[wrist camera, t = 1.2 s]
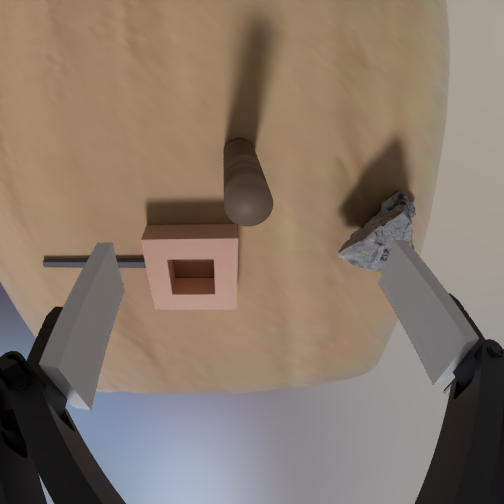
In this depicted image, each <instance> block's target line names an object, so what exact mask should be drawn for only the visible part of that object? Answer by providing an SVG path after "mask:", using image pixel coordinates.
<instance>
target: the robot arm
mask: <svg viewBox="0 0 504 504" xmlns="http://www.w3.org/2000/svg"><path fill="white" fill-rule="evenodd" d="M378 284H379V285H380V287H381V289H382V290H383V292H384V294H385V295H386V297H387V299H388V301H389V302H390V304H391V306H392V308H393V309H394V311H395V313H396V315H397V316H398V318H399V320H400V322H401V323H402V325H403V327H404V329H405V331H406V333H407V335H408V336H409V338H410V340H411V342H412V344H413V345H414V348H415V350H416V352H417V354H418V356H419V357H420V360H421V362H422V363H423V366H424V367H425V369H426V372H427V374H428V376H429V378H430V380H431V382H432V384H433V385H435V384H438V383H440V382H444V381H446V380H447V379H448V377H449V376H450V375H451V374H452V373H454V375H455V379H453V381H452V382H451V383H450V384H449V385H448V386H447V387H446V388H445V390H444V392H443V393H444V394H445V393H446V392H447V391H448V390H449V389H450V388H451V390H450V393H449V394H448V395H449V399H448V404H447V408H446V412H445V417H444V420H443V424H442V428H441V432H440V436H439V439H438V442H437V445H436V449H435V452H434V455H433V458H432V461H431V464H430V467H429V469H428V472H427V475H426V477H425V480H424V483H423V485H422V488H421V490H420V492H419V495H418V497H417V500H416V502H415V504H504V349H502V347H501V346H500V345H499V344H498V343H497V342H495V341H494V340H491V339H488V340H485V338H484V337H483V335H482V334H481V332H480V331H479V329H478V328H477V326H476V325H475V323H474V322H473V320H472V319H471V318H470V317H469V315H468V313H467V312H466V310H464V308H463V306H462V305H461V303H460V302H459V301H458V300H457V299H456V298H455V297H454V296H452V295H451V294H450V293H448V292H447V291H446V290H445V289H444V287H443V286H442V285H441V283H440V282H439V281H438V279H437V278H436V277H435V275H434V274H433V273H432V272H431V270H430V269H429V268H428V267H427V265H426V264H425V263H424V262H423V260H422V259H421V258H420V257H419V255H418V254H417V253H416V252H415V251H414V249H413V248H412V247H411V246H410V245H409V244H408V242H407V241H406V240H393V243H392V246H391V249H390V252H389V255H388V258H387V261H386V264H385V267H384V270H383V272H382V275H381V278H380V281H379V283H378ZM124 290H125V289H124V286H123V282H122V278H121V275H120V271H119V267H118V263H117V259H116V255H115V251H114V247H113V243H97V245H96V246H95V248H94V250H93V252H92V253H91V255H90V257H89V259H88V260H87V262H86V264H85V266H84V268H83V270H82V271H81V273H80V275H79V277H78V279H77V281H76V283H75V285H74V287H73V289H72V291H71V293H70V295H69V297H68V299H67V301H66V303H65V305H64V307H55V308H54V309H53V310H52V311H51V312H50V313H49V314H48V315H47V316H46V318H45V321H44V323H43V325H42V328H41V329H40V331H39V333H38V336H37V338H36V340H35V342H34V344H33V347H32V350H31V352H30V354H29V356H28V359H27V361H26V360H25V358H24V357H23V356H22V354H20V353H19V352H17V351H10V352H7V353H5V354H4V355H2V356H1V357H0V504H47V502H46V498H45V495H44V492H43V489H42V485H41V482H40V478H39V475H40V477H41V479H42V481H43V483H44V485H45V487H46V489H47V491H48V493H49V495H50V496H51V498H52V500H53V502H54V504H126V503H125V502H124V500H123V499H122V498H121V496H120V495H119V494H118V492H117V491H116V490H115V489H114V487H113V486H112V484H111V483H110V481H109V480H108V478H107V477H106V476H105V474H104V473H103V471H102V470H101V468H100V467H99V465H98V463H97V462H96V460H95V459H94V457H93V455H92V454H91V452H90V451H89V449H88V447H87V446H86V444H85V442H84V440H83V439H82V437H81V435H80V433H79V431H78V430H77V428H76V426H75V424H74V422H73V420H72V418H71V416H70V414H69V412H68V411H67V409H66V408H65V406H66V402H67V400H68V401H69V402H70V404H71V405H72V406H73V407H75V408H80V409H86V410H91V409H92V404H93V400H94V396H95V391H96V387H97V383H98V379H99V375H100V371H101V367H102V363H103V359H104V355H105V352H106V348H107V345H108V341H109V338H110V334H111V331H112V328H113V324H114V321H115V318H116V315H117V312H118V308H119V305H120V302H121V299H122V296H123V293H124ZM38 473H39V474H38Z"/></svg>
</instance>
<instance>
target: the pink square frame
mask: <svg viewBox="0 0 504 504" xmlns="http://www.w3.org/2000/svg"><path fill="white" fill-rule="evenodd" d="M141 243H142V249H143V254H144V259H145V265H146V270H147V274H148V279H149V284H150V289H151V293H152V298H153V302H154V306H155V309H158V310H224V309H237V273H238V229H237V224H183V225H147V226H146V229H145V231H144V233H143V236H142V238H141ZM173 259H214V275H215V278H175V273H174V265H173Z"/></svg>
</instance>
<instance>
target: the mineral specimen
mask: <svg viewBox="0 0 504 504" xmlns="http://www.w3.org/2000/svg"><path fill="white" fill-rule="evenodd" d="M415 215H416V214H415V207H414V205H413V203H410V201H409V200H408V197H407V194H406V193H405V192H404V191H398V192H397V193H395V195H393V196H391V197H389V198H388V199H387V200H386V201H382V203H381V211H380V212H379V213H378V214H377V215H376V216H374V217H372V218H371V219H370V220H369V221H368V222H367V223H366V224H365V226H364V228H360V229H359V230H357V231H355V232H354V233H353V234H352V235H351V237H350V239H349V240H348V241H347V242H345V243H344V244H343V246H342V248H341V249H340V250H339V253H338V256H339V257H341V258H344V260H345V261H346V262H349V263H351V264H352V265H354V266H357V267H362V268H366V269H370V270H374V271H378V272H381V273H382V272H383V270H384V267H385V264H386V261H387V258H388V255H389V252H390V249H391V246H392V243H393V240H406V241H407V242H408V244H409V245H410V246H411V247H412V248H413V249H414V246H413V244H412V233H413V230H412V228H411V224H412V220H411V219H412V218H413V217H414V216H415Z"/></svg>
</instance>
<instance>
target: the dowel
mask: <svg viewBox="0 0 504 504" xmlns="http://www.w3.org/2000/svg"><path fill="white" fill-rule="evenodd" d="M272 208H273V198H272V195H271V193H270V190H269V187H268V184H267V182H266V179H265V176H264V174H263V171H262V168H261V166H260V163H259V160H258V158H257V155H256V152H255V150H254V147H253V145H252V144H251V142H249V141H248V140H246V139H244V138H235V139H232V140H231V141H229V142H228V143H227V144H226V146H225V148H224V210H225V213H226V215H227V216H228V218H229V219H230V220H231V221H232V222H234V223H236V224H238V225H241V226H255V225H258V224H260V223H262V222H263V221H265V220H266V219H267V218H268V217H269V215H270V214H271V211H272Z"/></svg>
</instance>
